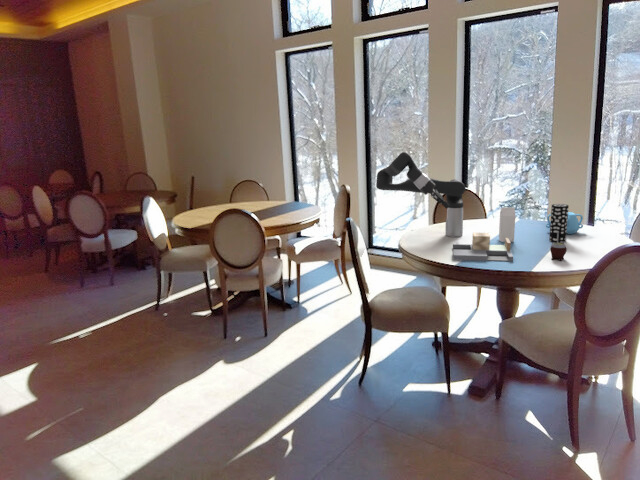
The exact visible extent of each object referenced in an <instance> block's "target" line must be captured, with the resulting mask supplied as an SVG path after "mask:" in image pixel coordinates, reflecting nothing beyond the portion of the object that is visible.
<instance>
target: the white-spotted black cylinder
mask: <svg viewBox="0 0 640 480" xmlns="http://www.w3.org/2000/svg"><path fill="white" fill-rule="evenodd" d="M569 207H570V206H569V204H564V203H554V204H551V211H550V214H551V216H550V221H551V222H550V228H549V239H548V240H549V242H552V243H554V242H557V232H558V234H559V237H558V242H561V243H566V241H567V233H566V232H567V219H568V212H569V211H568V210H569Z"/></svg>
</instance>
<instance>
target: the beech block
mask: <svg viewBox="0 0 640 480" xmlns="http://www.w3.org/2000/svg"><path fill="white" fill-rule="evenodd" d="M471 241H472V246H473V249H480V250H489V249H490V245H491V244H490V243H491V235H490V233H489V232H472V240H471Z"/></svg>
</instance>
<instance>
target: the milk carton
mask: <svg viewBox="0 0 640 480" xmlns="http://www.w3.org/2000/svg"><path fill="white" fill-rule="evenodd" d="M515 227H516V210H515V206H513V207H512V206H511V207H510V206H509V207H507V206H504V207H503V206H502V207H500V213H499V227H498V228H499V229H498V230H499V231H498V232H499V233H498V240H499V241H500V242H503V243H505V238H508V239H509V241H510V243H511V242H515Z"/></svg>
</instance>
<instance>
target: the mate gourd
mask: <svg viewBox="0 0 640 480" xmlns="http://www.w3.org/2000/svg"><path fill="white" fill-rule="evenodd" d="M558 237H559V234H558V232H557V242H552V244H551V245H550V250H549V251H550V254H551V261H556V260H557V261H560V262H562V261H563V260H564V259H565V258H564V257H565V255H566V253H567V250H568V248H567V245H566V243H565V242H562V243H561V242H558Z"/></svg>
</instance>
